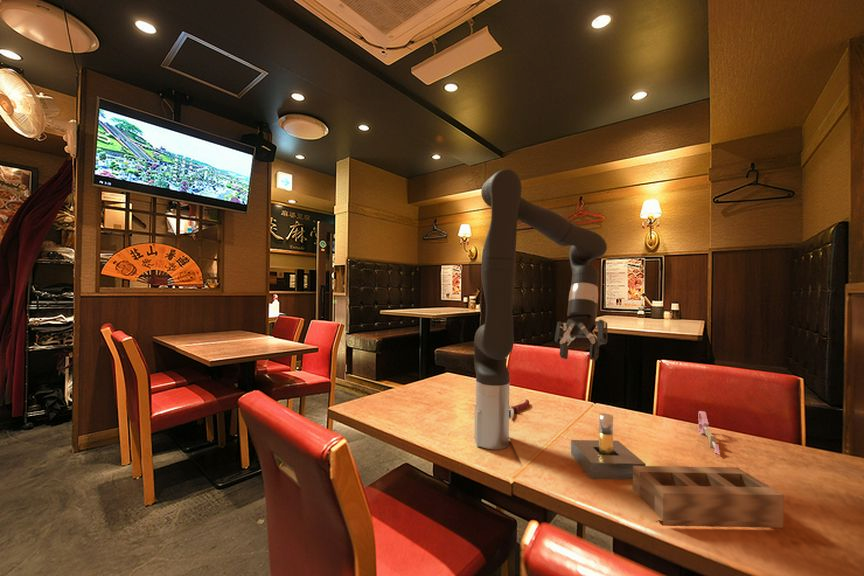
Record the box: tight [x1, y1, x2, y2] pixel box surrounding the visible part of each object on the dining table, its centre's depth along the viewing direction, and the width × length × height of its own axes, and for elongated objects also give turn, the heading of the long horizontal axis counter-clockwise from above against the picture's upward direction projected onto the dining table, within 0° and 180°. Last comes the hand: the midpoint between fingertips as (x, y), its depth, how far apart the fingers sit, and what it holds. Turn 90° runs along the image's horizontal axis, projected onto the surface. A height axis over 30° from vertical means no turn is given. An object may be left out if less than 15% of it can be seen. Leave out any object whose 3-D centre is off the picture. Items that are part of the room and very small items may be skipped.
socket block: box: [570, 439, 647, 481], centre depth 86 cm, size 12×12×4 cm
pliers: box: [509, 398, 530, 420], centre depth 126 cm, size 12×20×3 cm, turn 161°
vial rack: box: [632, 465, 785, 529], centre depth 71 cm, size 22×10×6 cm, turn 90°
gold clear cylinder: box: [598, 413, 614, 455], centre depth 86 cm, size 3×3×12 cm
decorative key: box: [697, 410, 721, 456], centre depth 101 cm, size 7×1×20 cm
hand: (577, 359), depth 95 cm, fingers open, 8 cm apart
